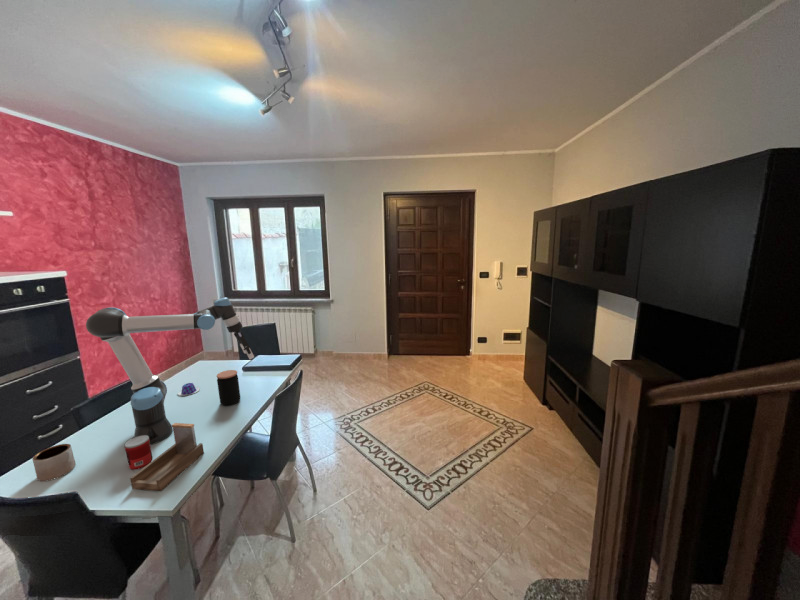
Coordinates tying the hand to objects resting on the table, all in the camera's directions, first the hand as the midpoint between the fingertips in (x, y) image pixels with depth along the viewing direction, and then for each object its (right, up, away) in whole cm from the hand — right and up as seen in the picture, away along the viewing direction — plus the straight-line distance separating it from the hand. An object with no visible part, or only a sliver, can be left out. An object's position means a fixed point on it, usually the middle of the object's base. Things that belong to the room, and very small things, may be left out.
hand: (249, 355), depth 183 cm
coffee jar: (-12, -28, +2) cm, 31 cm away
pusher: (-6, -35, -45) cm, 58 cm away
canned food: (-22, -38, -50) cm, 66 cm away
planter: (-54, -39, -54) cm, 86 cm away
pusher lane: (-7, -38, -54) cm, 66 cm away
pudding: (-46, -27, +16) cm, 56 cm away
